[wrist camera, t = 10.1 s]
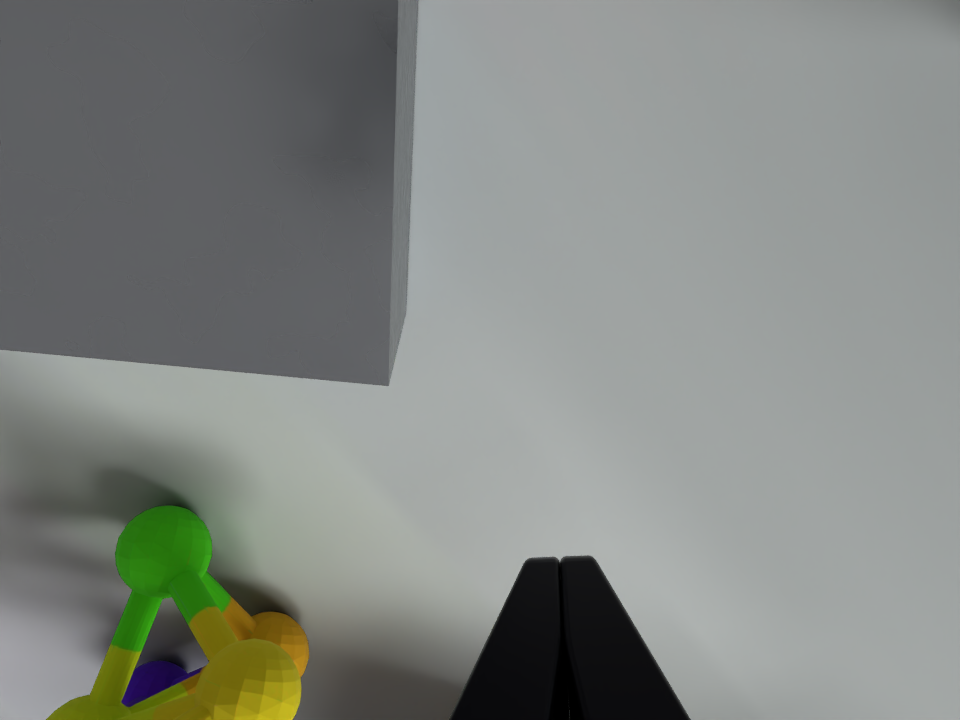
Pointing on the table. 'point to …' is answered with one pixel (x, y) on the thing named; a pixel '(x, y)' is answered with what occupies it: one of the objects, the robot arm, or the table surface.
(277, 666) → the molecular model
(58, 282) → the slate plate
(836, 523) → the table surface
